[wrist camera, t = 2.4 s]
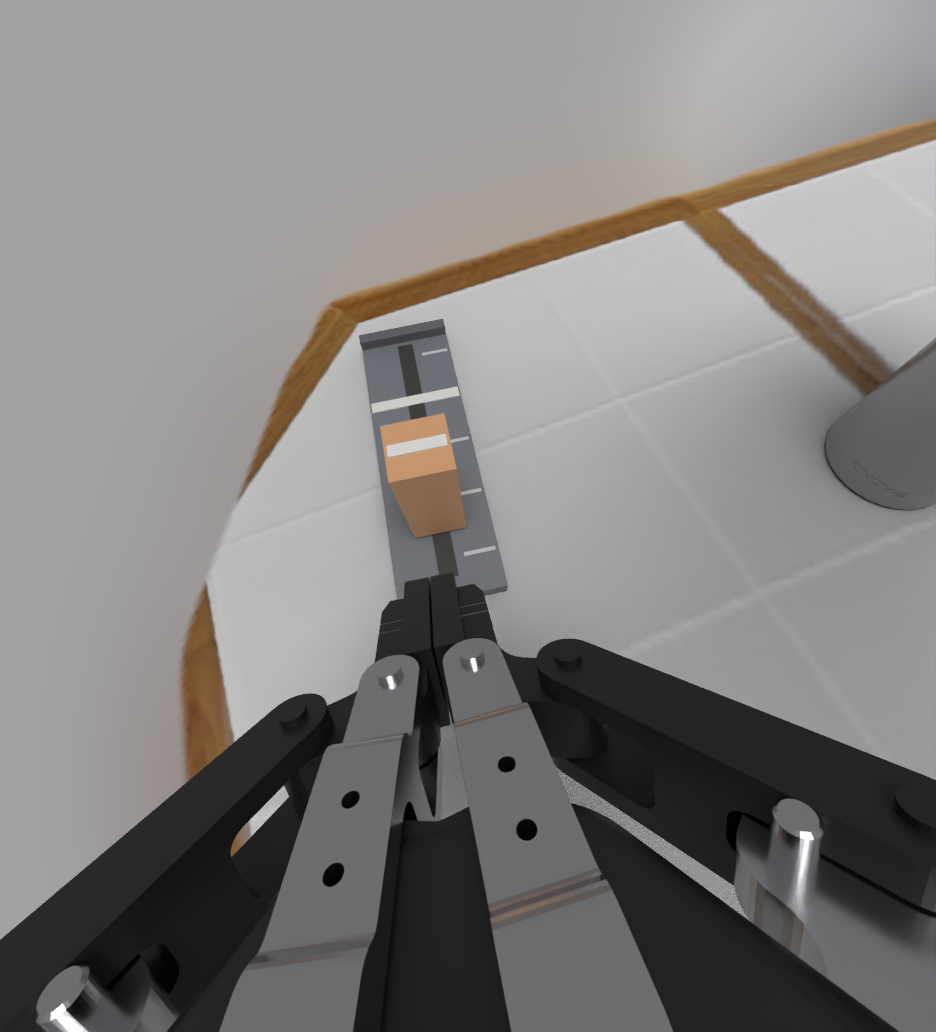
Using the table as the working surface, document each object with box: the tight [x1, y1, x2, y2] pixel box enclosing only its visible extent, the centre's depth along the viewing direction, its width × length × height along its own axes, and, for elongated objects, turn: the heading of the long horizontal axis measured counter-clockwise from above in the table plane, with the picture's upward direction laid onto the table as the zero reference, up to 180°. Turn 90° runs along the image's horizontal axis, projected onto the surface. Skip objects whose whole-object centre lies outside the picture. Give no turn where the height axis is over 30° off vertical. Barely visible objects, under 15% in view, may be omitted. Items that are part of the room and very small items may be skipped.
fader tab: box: [380, 413, 466, 538], centre depth 30 cm, size 4×4×9 cm
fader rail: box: [359, 319, 507, 600], centre depth 37 cm, size 26×8×2 cm, turn 11°
